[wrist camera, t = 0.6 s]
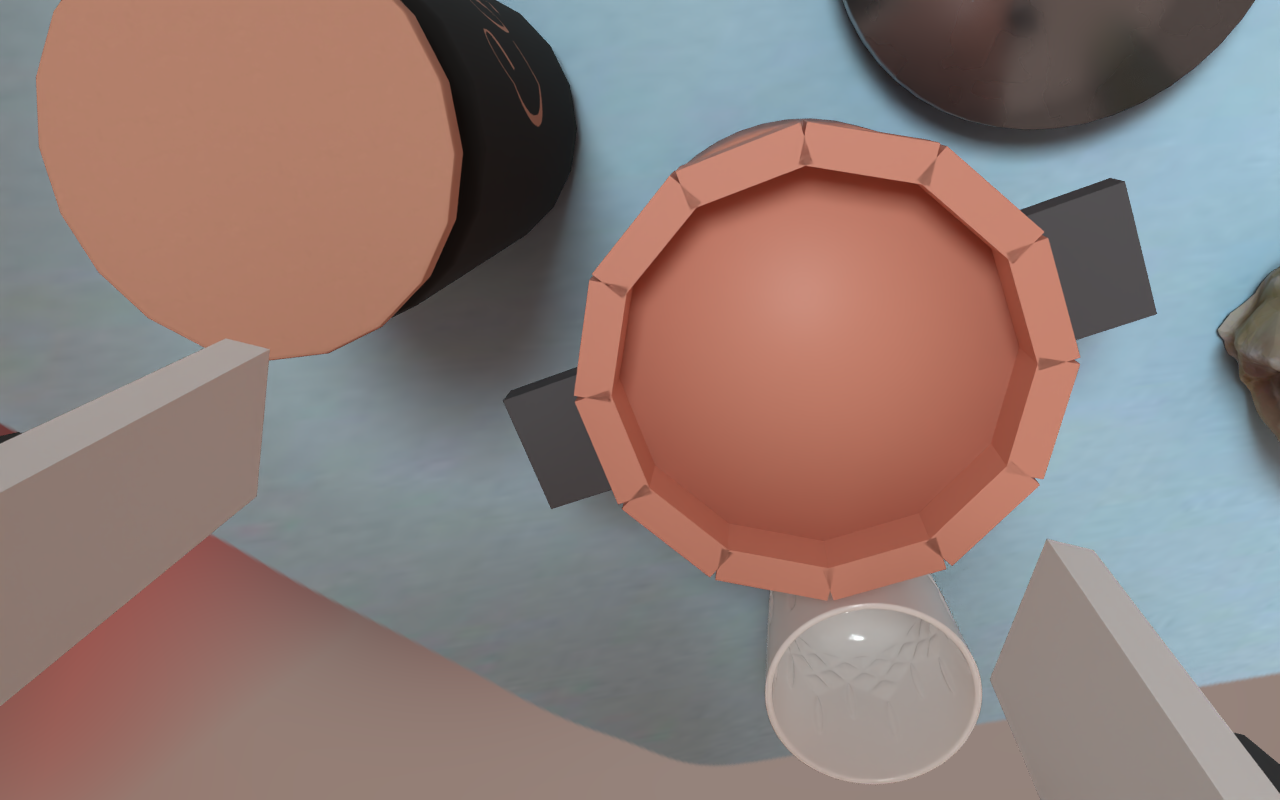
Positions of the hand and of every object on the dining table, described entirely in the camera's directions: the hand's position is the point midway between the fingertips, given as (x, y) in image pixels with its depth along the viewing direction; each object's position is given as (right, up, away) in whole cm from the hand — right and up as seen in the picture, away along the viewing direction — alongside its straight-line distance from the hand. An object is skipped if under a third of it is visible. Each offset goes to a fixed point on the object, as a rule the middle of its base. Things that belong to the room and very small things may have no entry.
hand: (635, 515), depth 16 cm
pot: (+7, +6, +25) cm, 26 cm away
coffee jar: (-8, +14, +24) cm, 29 cm away
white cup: (+10, -6, +29) cm, 31 cm away
